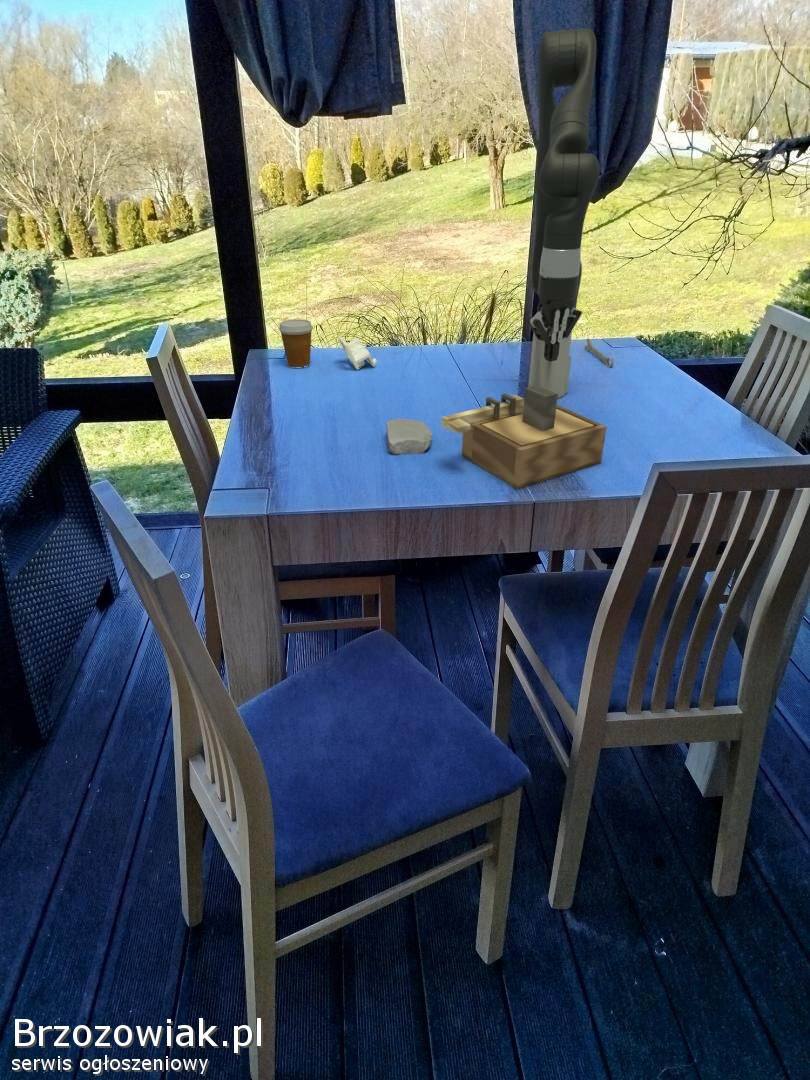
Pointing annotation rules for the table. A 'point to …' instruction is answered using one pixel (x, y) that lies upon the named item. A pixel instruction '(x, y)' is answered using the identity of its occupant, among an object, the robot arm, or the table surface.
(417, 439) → the stone block
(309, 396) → the table surface
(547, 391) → the lid
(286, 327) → the disposable coffee cup
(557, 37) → the robot arm
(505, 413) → the yellow latch bar
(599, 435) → the wooden box
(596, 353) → the combination wrench
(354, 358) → the mounting bracket
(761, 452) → the table surface
